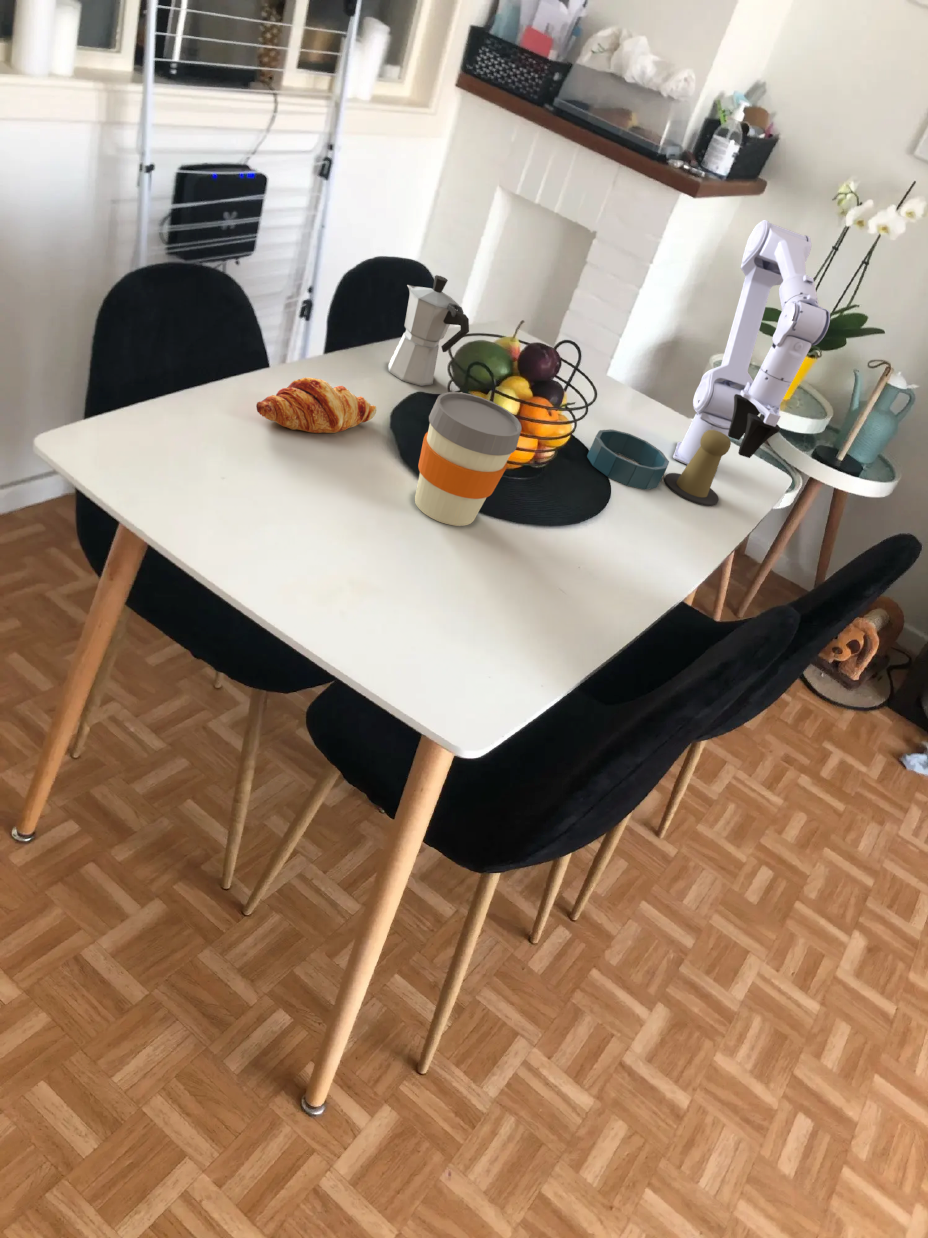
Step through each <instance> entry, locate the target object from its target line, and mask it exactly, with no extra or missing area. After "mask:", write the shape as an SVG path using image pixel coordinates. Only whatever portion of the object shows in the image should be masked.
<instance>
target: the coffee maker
mask: <svg viewBox="0 0 928 1238" xmlns="http://www.w3.org/2000/svg"><path fill="white" fill-rule="evenodd" d="M447 283H448V279H447V278H446V277H444V276H442V275H438V274H436V275H434V279H433V285H432V288H431V287H423V286H414V285H411V284H407V285H406V286H407V288H408V291H409V296H408V303H407V308H406V315H405V320H404V325H403V327H404V328H405V331H404V332H403V334H402V336H401V338H400V340H399V342H398V344H397V346H396V348H395V349H394V352H393V354H392V356H391V358H390V360H389V362H388V365H387V366H388V373H390V374H391V375H393V376H394V377H396V378H398V380H401V381H402V382H406V383H409V384H413V385H416V386H420V387H422V386H430V385H433V383H434V377H435V372H436V365H437V360H438V354H439V347H441V351H442V353H447V352H448V351H449V350H450V349H451V348H452V347H453V346H455V345H457V343H458V342H460V340H461V339H463V338H464V337H465V336H466V335H467V334H469V333H470V320H469V319H470V318H468V316H467V315H466V314H465V313H464V309H463V307H462V306H460V304H459V303H458V302H457V301H456V300H455V299H453V297H451V296H450V295H449V294H446V293H445V292H443V291H444V289H445V287H446V285H447ZM450 325H452V326H460V330H458V331H457V332H456V333H455V334H454V335H452V337H450V338H449V339H448V340H447V341H445V342H444V343H443V344H442V345H441V346H439V343H440V340H442V339H444V337H445V335H446V334H447V331H448V329H449V327H450Z"/></svg>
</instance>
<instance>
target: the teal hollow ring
mask: <svg viewBox="0 0 928 1238" xmlns="http://www.w3.org/2000/svg"><path fill="white" fill-rule="evenodd" d="M618 454H619V455H621V456H619V455H618ZM586 457H587V459H588V461H589V462H590V464H591V465H592V467H594V468H595V469H596V470H598V471H599V472H601V474H603V475H604V476H606V477H607V478H609V479H611V480H613V481H616V482H618V483H620V484H622V485H624V486H627V487H631V488H636V489H641V490H651V489H657V488H659V485H660V483H661V481H662V479H663V478H664V475H665V473H666V471H667V469H668V466H669V463H670V461H669V459H668V458H667V457H666V455H665V454H664V452H663V451H661V450H660V449H659V448H657V447H656V446H655V445H653V444H652V443H650V442H649V441H647V440H645V439H642V438H640V437H638V436H636V435H634V434H631V433H629V432H625V431H620V430H616V429H611V428H609V429H600V430H598V432H597V433H596V435H595V437H594V439H593V441H592V443H591V445H590V448H589V450H588V453H587V455H586ZM624 457H625V458H624ZM626 458H628V459H630V460H628V459H626ZM631 460H632V461H631ZM633 461H634V462H633ZM635 462H637V463H635Z"/></svg>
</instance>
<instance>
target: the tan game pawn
mask: <svg viewBox="0 0 928 1238" xmlns="http://www.w3.org/2000/svg"><path fill="white" fill-rule="evenodd" d="M700 445H701V446H700V448H699V449H698V451H697V452H696V453H695V455H694V456H693V458H692V459H691V461H690V462H689V464H688V465H687V464H686V467H685V468H684V469H683V470H682V472H681V473H680V474H681V475H680V477H679V478H678V480H677V482H676V483H677V485H678V486H679V487H680V488H681V489H682V490H684V491H685V492H687V493H689V494H691V495H694V496H697V497H707V495H708V492H709V490H710V488H711V487H712V484H713V482H714V478H715V476H716V473H717V471H718V468H719V465H720V462H721V459H722V458H723V456H724V455H726V454H727V453H728V452H729V450H730V448H731V445H732V441H731V439H730V437H729V436H726V435H725V434H723V433H721V432H719V431H716V430H708V431H706V432H705V433H704V434H703V435H702V437H701V440H700Z"/></svg>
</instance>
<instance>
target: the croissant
mask: <svg viewBox="0 0 928 1238" xmlns="http://www.w3.org/2000/svg"><path fill="white" fill-rule="evenodd" d="M256 411H257V413H258V414H259V415H261V417H264V418H265V419H267V420H269V421H271V422H275V423H277V424H278V425H280V426H282V427H284V428H287V429H290V430H298V431H303V432H308V433H312V434H313V433H315V434H320V433H325V434H335V433H340V432H343V431H347V430H348V429H349V428H353V427H357V426H358V425H360V424H361V423H367V422H368V421H370V420H372V419H373V418H374V417H375V416H376V414H377V406H376V405H371V404H370V402H368V400H367V399H366V398H365V397H363V396H361V395H360V396H356V395H355V394H354V393H352V392H351V391H350V390H349V389H347V388H346V387H345V386H343V385H337V386H335V387H333V386H332V385H331V384H330V383H329V382H327V381H326V380H323V379H321V378H317V377H316V378H315V377H302V378H300V379H295V380H293V381H291V383H290V384H289V385H288V386H287V387H282V388H281V389H279V390H278V391H277V393H276V394H274V395H273V394H271V395H270V396H267V397H266V398H263V400H261V401H257V402H256Z"/></svg>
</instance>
